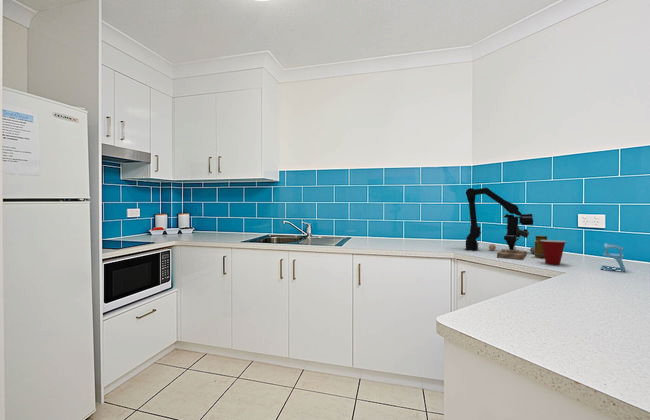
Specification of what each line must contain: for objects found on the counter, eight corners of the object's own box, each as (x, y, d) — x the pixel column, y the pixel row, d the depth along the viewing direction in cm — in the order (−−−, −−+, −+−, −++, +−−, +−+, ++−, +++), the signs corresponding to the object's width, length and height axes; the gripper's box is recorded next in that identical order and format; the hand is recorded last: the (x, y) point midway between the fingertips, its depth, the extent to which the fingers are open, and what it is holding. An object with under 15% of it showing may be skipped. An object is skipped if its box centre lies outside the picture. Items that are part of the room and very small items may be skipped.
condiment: (536, 255, 173) (536, 234, 173) (554, 258, 167) (554, 236, 166) (531, 257, 169) (531, 236, 168) (550, 259, 162) (550, 237, 162)
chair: (626, 273, 133) (627, 245, 132) (600, 270, 138) (601, 243, 138) (625, 269, 138) (626, 243, 138) (600, 267, 144) (601, 241, 143)
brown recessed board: (497, 257, 170) (497, 253, 170) (502, 253, 183) (502, 249, 183) (522, 259, 163) (522, 255, 163) (526, 255, 175) (526, 251, 175)
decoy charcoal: (529, 254, 179) (529, 247, 179) (530, 253, 182) (530, 246, 182) (537, 254, 177) (537, 247, 176) (538, 253, 180) (538, 246, 180)
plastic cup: (563, 262, 156) (563, 238, 155) (569, 266, 146) (569, 241, 145) (537, 260, 160) (537, 238, 160) (541, 264, 151) (541, 240, 150)
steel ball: (508, 252, 186) (508, 245, 186) (509, 251, 189) (509, 244, 189) (515, 252, 184) (515, 246, 183) (516, 251, 187) (516, 245, 187)
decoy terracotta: (488, 250, 193) (488, 244, 193) (489, 249, 196) (489, 243, 196) (495, 251, 191) (495, 244, 190) (496, 250, 194) (496, 243, 194)
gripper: (526, 226, 174) (526, 253, 174) (530, 224, 188) (529, 249, 188) (503, 225, 181) (503, 252, 181) (509, 223, 195) (509, 247, 196)
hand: (512, 250), depth 186 cm, fingers closed on steel ball, 4 cm apart
